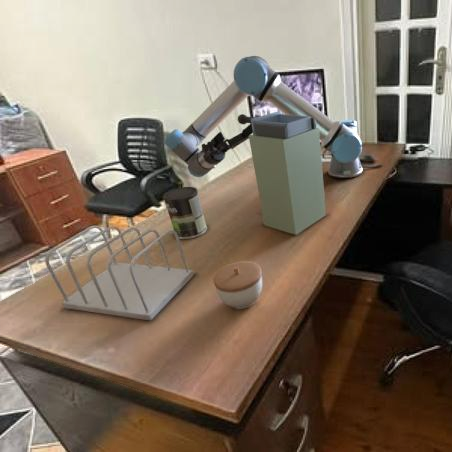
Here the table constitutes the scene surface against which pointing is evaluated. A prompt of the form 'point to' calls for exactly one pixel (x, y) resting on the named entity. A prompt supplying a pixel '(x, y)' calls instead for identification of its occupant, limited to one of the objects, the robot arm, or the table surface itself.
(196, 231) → the coffee can
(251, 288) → the trinket box
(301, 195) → the stand
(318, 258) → the table surface
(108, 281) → the file sorter
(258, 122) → the grey drawer
